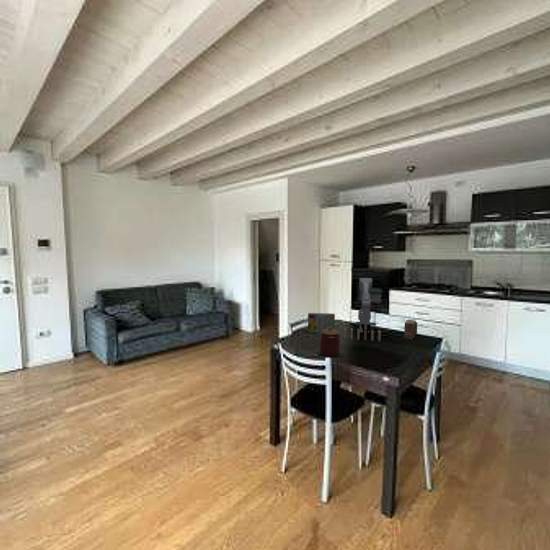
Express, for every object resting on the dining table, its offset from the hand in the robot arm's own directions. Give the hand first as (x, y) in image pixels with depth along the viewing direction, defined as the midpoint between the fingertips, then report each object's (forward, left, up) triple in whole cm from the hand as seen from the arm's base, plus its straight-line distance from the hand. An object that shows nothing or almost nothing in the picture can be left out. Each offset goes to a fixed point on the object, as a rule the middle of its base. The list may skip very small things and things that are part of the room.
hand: (365, 334), depth 249 cm
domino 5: (0, +10, -4) cm, 11 cm away
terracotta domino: (0, 0, -4) cm, 4 cm away
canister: (+39, -24, -4) cm, 46 cm away
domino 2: (0, -10, -4) cm, 11 cm away
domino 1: (0, -15, -4) cm, 15 cm away
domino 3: (0, -5, -4) cm, 6 cm away
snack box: (-13, -34, -4) cm, 37 cm away
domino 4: (0, +5, -4) cm, 6 cm away
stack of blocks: (-19, +35, -4) cm, 40 cm away
